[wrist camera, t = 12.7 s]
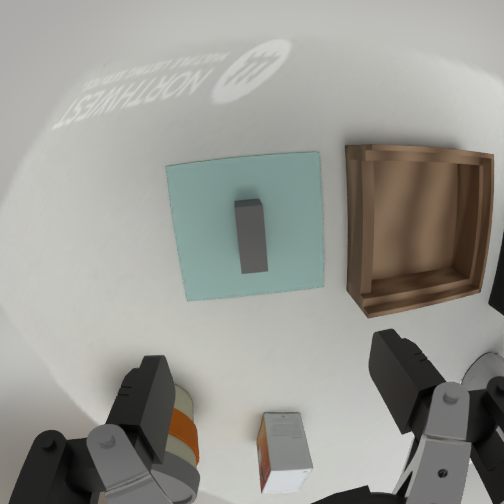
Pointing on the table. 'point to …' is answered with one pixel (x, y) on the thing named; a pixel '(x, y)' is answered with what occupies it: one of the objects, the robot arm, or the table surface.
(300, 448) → the small box
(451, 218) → the walnut box
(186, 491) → the reusable coffee cup
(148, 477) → the robot arm
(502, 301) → the radio
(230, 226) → the cover plate
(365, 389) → the table surface
